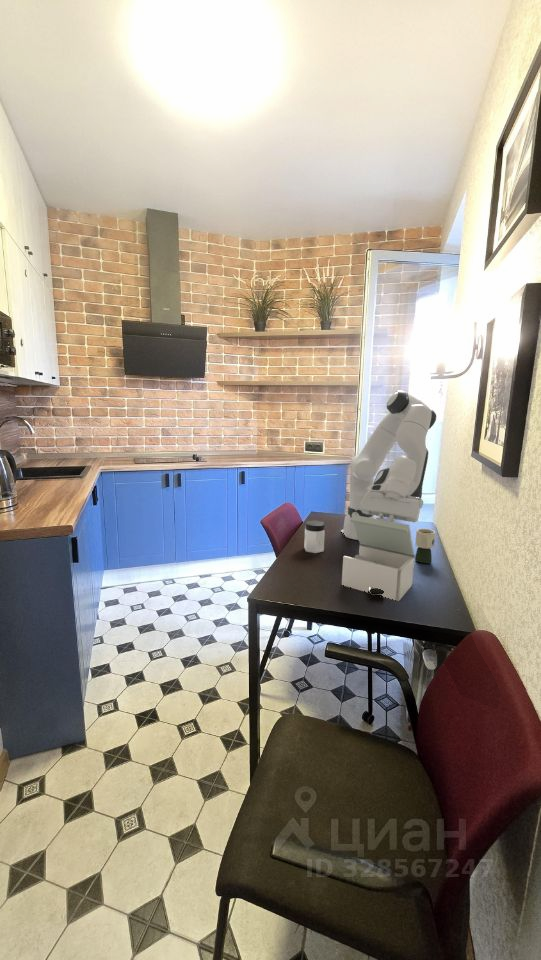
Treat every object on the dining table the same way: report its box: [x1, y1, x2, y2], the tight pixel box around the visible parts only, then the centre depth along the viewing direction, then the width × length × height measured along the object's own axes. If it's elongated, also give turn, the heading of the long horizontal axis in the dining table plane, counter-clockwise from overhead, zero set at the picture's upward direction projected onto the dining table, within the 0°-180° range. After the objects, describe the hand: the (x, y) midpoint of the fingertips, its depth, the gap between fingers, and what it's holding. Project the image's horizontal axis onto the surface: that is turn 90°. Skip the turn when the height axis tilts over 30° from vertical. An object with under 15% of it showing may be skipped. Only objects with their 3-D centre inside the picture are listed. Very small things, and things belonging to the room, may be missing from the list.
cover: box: [350, 515, 415, 555], centre depth 142 cm, size 15×20×2 cm
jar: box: [303, 519, 326, 554], centre depth 177 cm, size 9×8×12 cm
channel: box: [341, 543, 416, 602], centre depth 143 cm, size 15×20×12 cm
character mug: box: [414, 528, 436, 564], centre depth 165 cm, size 11×7×13 cm, turn 168°
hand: (383, 526), depth 140 cm, fingers closed
